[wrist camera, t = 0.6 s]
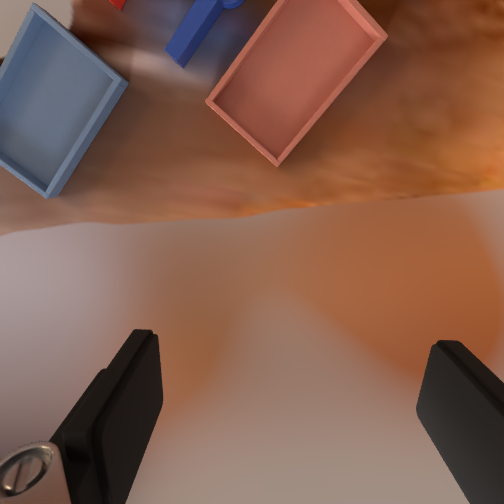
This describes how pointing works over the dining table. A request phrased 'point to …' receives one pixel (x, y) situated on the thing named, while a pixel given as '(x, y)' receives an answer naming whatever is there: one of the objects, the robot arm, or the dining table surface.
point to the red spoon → (118, 3)
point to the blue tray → (51, 102)
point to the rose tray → (294, 71)
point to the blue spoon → (196, 28)
